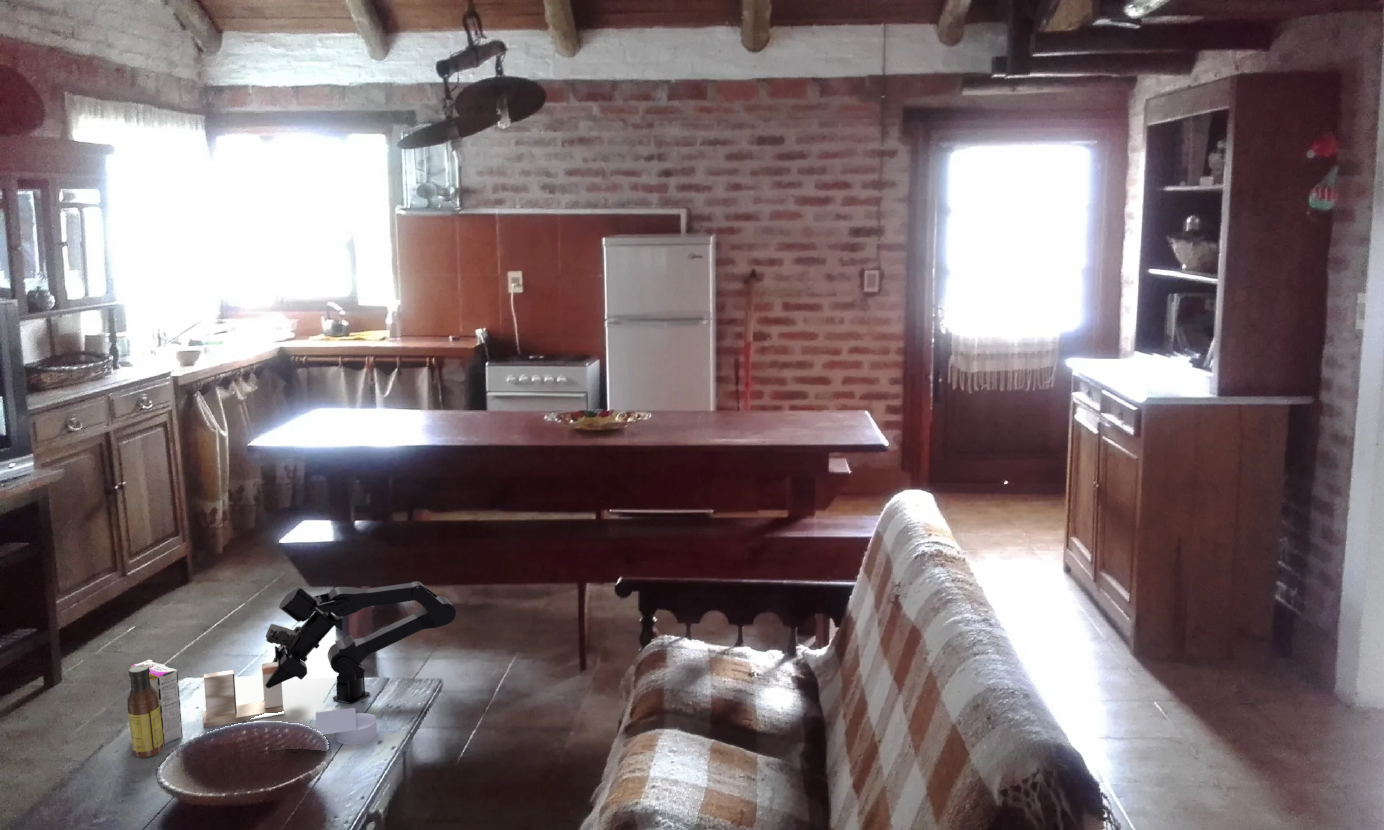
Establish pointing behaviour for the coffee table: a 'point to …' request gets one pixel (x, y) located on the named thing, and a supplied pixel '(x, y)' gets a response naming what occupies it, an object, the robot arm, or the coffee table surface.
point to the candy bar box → (166, 698)
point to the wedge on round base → (347, 725)
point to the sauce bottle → (144, 714)
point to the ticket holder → (228, 701)
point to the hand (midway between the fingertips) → (266, 683)
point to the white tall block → (274, 693)
